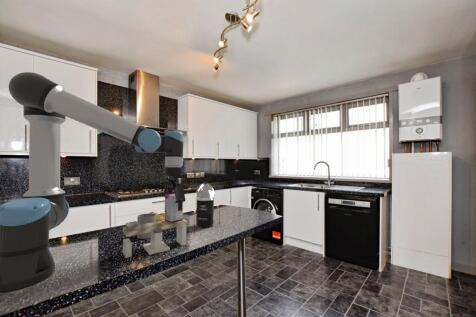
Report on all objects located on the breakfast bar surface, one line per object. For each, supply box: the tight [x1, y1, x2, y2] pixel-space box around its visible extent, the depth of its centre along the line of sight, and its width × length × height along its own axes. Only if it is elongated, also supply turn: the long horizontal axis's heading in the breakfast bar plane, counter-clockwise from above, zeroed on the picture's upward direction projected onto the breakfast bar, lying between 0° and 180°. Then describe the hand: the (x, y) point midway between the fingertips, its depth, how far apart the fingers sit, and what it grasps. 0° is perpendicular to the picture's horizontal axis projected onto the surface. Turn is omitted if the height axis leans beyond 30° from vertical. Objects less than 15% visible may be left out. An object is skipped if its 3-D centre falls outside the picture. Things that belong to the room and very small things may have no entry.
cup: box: [136, 212, 156, 240], centre depth 107 cm, size 8×8×10 cm
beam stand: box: [122, 225, 187, 259], centre depth 92 cm, size 24×10×8 cm, turn 127°
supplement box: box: [164, 193, 184, 223], centre depth 96 cm, size 6×6×12 cm
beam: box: [122, 219, 188, 238], centre depth 92 cm, size 24×9×4 cm, turn 127°
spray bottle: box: [195, 181, 215, 228], centre depth 127 cm, size 10×10×25 cm
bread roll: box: [149, 211, 165, 222], centre depth 126 cm, size 13×10×8 cm
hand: (173, 215), depth 96 cm, fingers open, 13 cm apart
